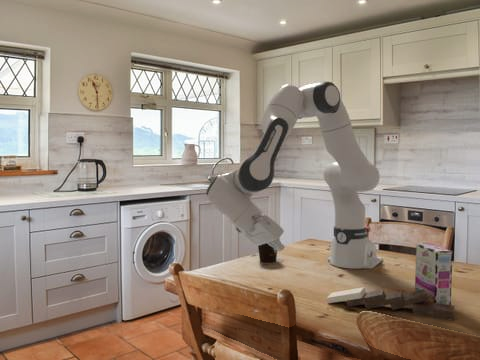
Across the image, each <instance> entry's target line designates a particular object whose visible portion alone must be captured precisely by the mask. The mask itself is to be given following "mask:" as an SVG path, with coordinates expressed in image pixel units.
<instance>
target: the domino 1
mask: <svg viewBox="0 0 480 360" xmlns="http://www.w3.org/2000/svg"><path fill="white" fill-rule="evenodd" d="M385 294H386V292H385V289H384V288H382V289H376V290H372V291H366V293H365V295H364V296H363V297H362V298H359V299H353V300H346V301H345V302H346V305H347V307H348V308H349V307H354V306H361V305H364V304H366V303H372V302H377V301H382V300H384V298H385Z"/></svg>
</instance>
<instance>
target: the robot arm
mask: <svg viewBox="0 0 480 360" xmlns="http://www.w3.org/2000/svg"><path fill="white" fill-rule="evenodd" d="M314 117H316V118H317V119H318V124H319V128H320V132H321V136H322V138H323V141H324V142H323V143H324V145H325V149H326V151H327V152H328V154H329V155H330V156H331V157H333V159H334V160H335V161H334V162H331V163H329V164H327V165H326V166H325V168H324V171H323V180H324V181H325V183H326V184H327V186H328V187H329V189H330V192H331V193H330V194H331V196H332V199H333V200H332V201H333V205H334V226H333V230H332V231H333V238H332V239H331V244H330V252H329V257H327V261H328V262H329V263H330V265H332V266H334V267H337V268H343V269H374V268H375V267H377V265H379V263H381V262H382V261H384V259H383V257H381V256H379V255H377V246H376V244H375V243H374V242H373V241H371V239H370V238H369V237H368V233H370V232H371V227H370V226H366V207H365V204H364V203H363V202H362V201H361V198H360V195H359V193H362V192H363V193H364V192H370V191H372V190H374V189H375V188H376V187H377V186H378V184H379V182H380V178H381V177H380V171H379V169H378V168H377V167H376V166H375V165H374V164H373V163H372V162H371V161H370V160H369V159H368V157H366V155H365V154H364V152H363V151H362V149H361V147H360V145H359V143H358V141H357V139H356V136H355V131H354V129H353V125H352V123H351V119H350V116H349V113H348V111H347V108H346V106H345V104H344V102H343V101H342V99H341V93H340V90H339V88H338V87H337V86H336V84H334V83H333V82H331V81H320V82H315V83H310V84H306V85H304V86H302V87H299V86H298V87H297V86H296V85H292V84H284V85H282V86H281V87H280V88H279V89H278V90H277V91H276V92H275V93H274V94H273V96H272V98H271V99H270V100H269V102H268V104H267V106H266V107H265V110H264V112H263V114H262V116H261V119H260V123H259V125H260V129H261V131H262V133H263V135H262V137H261V140H260V142H259V144H258V146H257V148H256V149H255V151H254V153H253V154H252V155H250V157H248V158H247V159H245V160H244V161H243V163H242V164H241V166H239V167H238V168H237V169H235V170H233V171H230V172H227V173H223V174H217V175H216V176H215V177H214V178H213V179H212V180H211V182H210V184H209V185H208V187H207V189H206V193H205V194H206V197H207V199H208V200H209V202H210V203H211V204H212V205H213V206H214V207H215V208H216V209H217V211H219V212H220V213H221V214H222V215H225V216H226V217H227V218H228V219H229V220H230V223H232V224H233V225H234V226H235V230H236V231H237V232H238V233H239V234H241V233H242V234H243V236H244V237H245V238H246V239H248V240H249V241H250V242H252V243H253V244H254V245H256V246H257V247H258V246H259V245H262V244H265V243H267V244H268V245H270V246H271V247H273V248H275V249H276V250H277V252H280V251H283V250H284V249H285V247H286V246H285V245H284V244H283V243H282V242H281V241H280V237H282V235H283V234H284V232H285V231H284V229H283V227H281V225H279V224H278V223H277V222H276V221H275V220H274V219H272V218H271V217H270V216H268V215H266V214H265V215H264V214H263V211H262V210H261V209H260V208H259V207H258V206H257V205H256V204H255V203H254V202H253V201H252V200H251V197H253V196H255V195H257V194H258V193H260V192H262V191H263V190H265V189H267V188H269V187H270V185H271V184H272V182H273V180H274V174H275V161H276V159H277V157H278V154H279V152H280V149H281V147H282V145H283V143H284V141H285V140H286V139H287V138H288V136H289V135H290V134H291V132H292V131H293V129H294V127H295V125H296V123H297V121H298V120H301V119H306V118H314ZM262 214H263V215H262Z"/></svg>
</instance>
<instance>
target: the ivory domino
mask: <svg viewBox="0 0 480 360" xmlns="http://www.w3.org/2000/svg"><path fill="white" fill-rule="evenodd" d="M366 292H367V291H366V288H365V287H357V288H352V289H347V290H339V291H333V292H331V293H330V294H329V295H328V296H327V297H326V300H327V303H328V304H333V303H339V302H346V301H347V300H353V299H359V298H362V297H363V296H364V295H365V293H366Z"/></svg>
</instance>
